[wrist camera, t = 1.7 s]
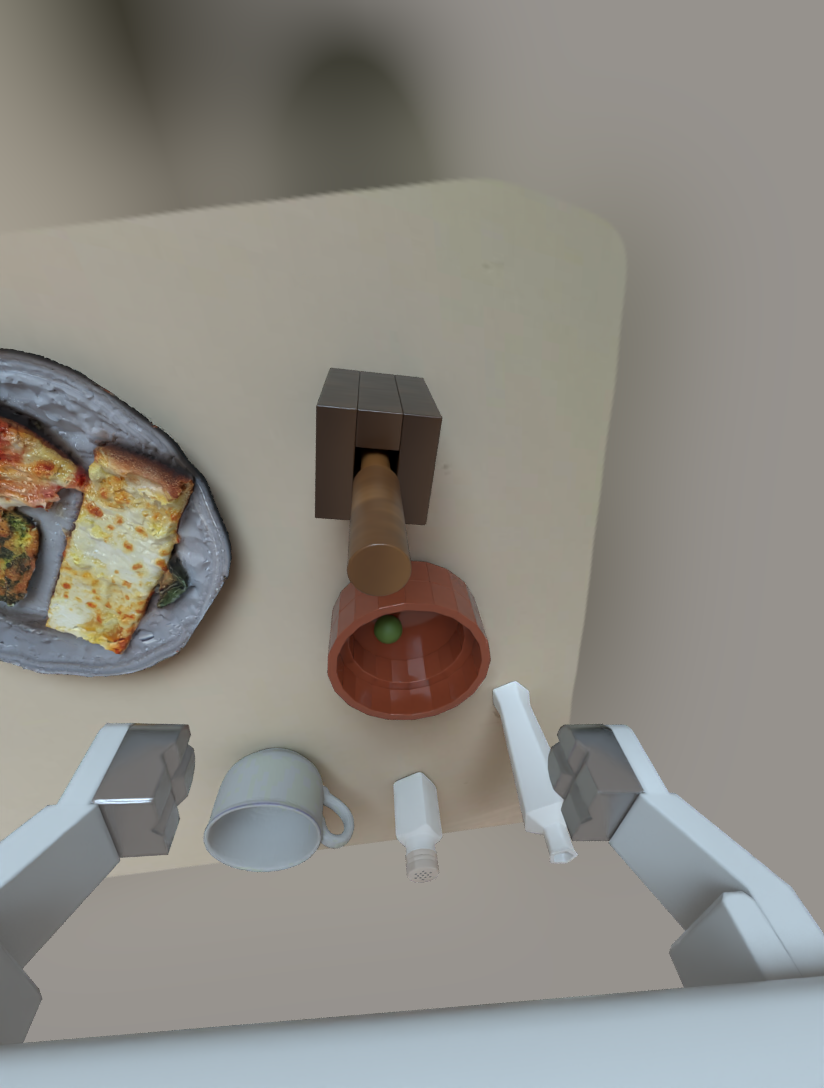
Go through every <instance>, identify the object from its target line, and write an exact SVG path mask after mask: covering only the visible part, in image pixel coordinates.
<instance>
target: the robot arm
mask: <svg viewBox="0 0 824 1088" xmlns="http://www.w3.org/2000/svg"><path fill="white" fill-rule="evenodd" d="M190 736H191V733H190V729H189V725H186V724H141V723H107V724H106V725H105V726H104V727H103V728H102V729H101V730H100V731H99V732H98V733H97V735H96V737H95V739H94V740H93V742H92V744H91V746H90V747H89V749H88V751H87V753H86V754H85V756H84V758H83V760H82V761H81V763H80V765H79V766H78V768H77V770H76V772H75V773H74V775H73V777H72V779H71V780H70V782H69V784H68V786H67V787H66V789H65V791H64V793H63V794H62V796H61V798H60V799H59V801H58V803H57V805H47V806H46V807H45V808H43V809H42V810H41V811H40V812H38V813H37V814H36V815H34V816H33V817H32V818H30V819H29V820H28V821H27V822H25V823H24V824H23V825H21V826H20V827H19V828H18V829H16V830H15V831H14V832H12V833H11V834H10V835H8V836H7V837H6V838H5V839H3V840H2V841H1V842H0V1088H824V934H823V933H822V931H821V929H820V928H819V926H818V925H817V923H816V922H815V920H814V919H813V918H812V916H811V915H810V913H809V912H808V910H807V909H806V908H805V906H804V904H803V903H802V902H801V900H800V899H799V897H798V896H797V894H796V893H795V891H794V890H793V888H792V887H791V886H789V885H788V884H787V883H786V882H785V881H783V880H782V879H781V878H780V877H779V876H777V875H776V874H775V873H774V872H772V871H771V870H770V869H769V868H767V867H766V866H765V865H764V864H762V863H761V862H760V861H759V860H758V859H756V858H755V857H754V856H752V855H751V854H750V853H749V852H748V851H746V850H745V849H744V848H743V847H741V846H740V845H739V844H738V843H736V842H735V841H734V840H733V839H732V838H730V837H729V836H728V835H727V834H725V833H724V832H723V831H722V830H720V829H719V828H718V827H717V826H715V825H714V824H713V823H712V822H710V821H709V820H708V819H707V818H706V817H704V816H703V815H702V814H701V813H699V812H698V811H697V810H696V809H694V808H693V807H692V806H691V805H689V804H688V803H687V802H686V801H684V800H683V799H682V798H681V797H680V796H678V795H677V794H676V793H669V792H668V790H667V789H666V787H665V785H664V784H663V782H662V780H661V778H660V777H659V775H658V774H657V772H656V770H655V768H654V766H653V765H652V763H651V761H650V760H649V758H648V756H647V754H646V753H645V751H644V749H643V748H642V746H641V744H640V742H639V741H638V739H637V737H636V736H635V734H634V732H633V731H632V729H631V728H630V727H628V726H627V725H603V724H574V725H563V726H562V727H560V729H559V731H558V733H557V736H558V739H559V742H558V743H556V744H555V745H554V746H552V747H551V750H550V752H549V755H548V772H549V778H550V781H551V784H552V787H553V790H554V791H555V792H556V793H557V794H558V795H559V796H560V797H561V798H562V799H564V800H563V804H562V807H561V812H562V815H563V817H564V820H565V823H566V826H567V828H568V831H569V833H570V836H571V839H572V841H609V844H610V845H611V847H612V848H613V849H614V850H615V851H616V852H617V853H618V855H619V856H620V857H621V858H622V859H623V860H624V861H625V862H626V864H627V865H628V866H629V867H630V868H631V869H632V870H633V872H634V873H635V874H636V875H637V876H638V877H639V879H640V880H641V881H642V882H643V883H644V884H645V885H646V886H647V888H648V889H649V890H650V891H651V892H652V893H653V894H654V896H655V897H656V898H657V899H658V900H659V901H660V902H661V904H662V905H663V906H664V907H665V908H666V909H667V910H668V912H669V913H670V914H671V915H672V916H673V917H674V918H675V920H676V921H677V922H678V923H679V924H680V925H681V926H682V928H683V929H684V930H685V932H684V933H683V934H682V935H681V936H680V937H679V938H678V939H677V940H676V941H675V942H674V943H673V944H672V945H671V949H670V951H669V954H670V956H671V959H672V961H673V963H674V965H675V968H676V970H677V972H678V975H679V977H680V979H681V982H682V984H683V986H684V988H675V989H664V990H663V989H662V990H651V991H638V992H627V993H614V994H603V995H591V996H579V997H567V998H555V999H543V1000H531V1001H519V1002H507V1003H495V1004H483V1005H471V1006H459V1007H447V1008H436V1009H423V1010H412V1011H399V1012H388V1013H375V1014H363V1015H351V1016H339V1017H327V1018H317V1019H304V1020H291V1021H280V1022H269V1023H255V1024H243V1025H232V1026H220V1027H208V1028H197V1029H184V1030H172V1031H160V1032H148V1033H137V1034H124V1035H112V1036H100V1037H89V1038H76V1039H64V1040H52V1041H40V1042H28V1043H23V1042H24V1040H25V1037H26V1035H27V1033H28V1030H29V1028H30V1025H31V1023H32V1021H33V1018H34V1016H35V1014H36V1012H37V1009H38V1007H39V1005H40V1002H41V1000H42V996H41V993H40V990H39V988H38V987H37V986H36V985H35V983H34V982H33V981H32V980H31V979H30V977H29V976H28V975H27V974H26V973H25V972H24V970H23V968H24V966H25V965H26V964H27V963H28V962H29V961H30V960H31V959H32V958H33V956H34V955H35V954H36V953H37V952H38V951H39V950H40V949H41V948H42V947H43V945H44V944H45V943H46V942H47V941H48V940H49V939H50V938H51V936H52V935H53V934H54V933H55V932H56V931H57V930H58V929H59V928H60V927H61V926H62V925H63V923H64V922H65V921H66V920H67V919H68V918H69V916H71V915H72V913H73V912H74V911H75V910H76V909H77V908H78V907H79V906H80V905H81V904H82V902H83V901H84V900H85V899H86V898H87V897H88V896H89V895H90V894H91V892H92V891H93V890H94V889H95V888H96V887H97V886H98V885H99V884H100V883H101V881H102V880H103V879H104V878H105V877H106V876H107V875H108V874H109V873H110V872H111V870H112V869H113V868H114V867H115V866H116V865H117V864H118V863H119V862H120V858H122V857H138V856H155V855H168V853H169V850H170V847H171V844H172V841H173V838H174V835H175V832H176V829H177V826H178V823H179V820H180V817H179V813H178V808H177V806H178V805H179V804H180V803H181V802H182V801H183V800H184V799H185V798H186V797H187V796H188V793H189V790H190V787H191V784H192V780H193V774H194V769H195V753H194V748H192V747H191V746H190V745H188V742H189V739H190Z"/></svg>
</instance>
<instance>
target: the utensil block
mask: <svg viewBox="0 0 824 1088" xmlns="http://www.w3.org/2000/svg"><path fill="white" fill-rule="evenodd" d="M441 423H442V416H441V414H440V412H439V410H438V408H437V406H436V404H435V402H434V400H433V398H432V396H431V393H430V391H429V389H428V387H427V385H426V383H425V381H424V379H423V378H419V377H410V376H400V375H395V376H394V375H391V374H382V373H373V372H364V371H361V372H360V371H355V370H346V369H336V368H330V370H329V372H328V375H327V378H326V381H325V384H324V386H323V389H322V392H321V395H320V397H319V400H318V403H317V406H316V476H315V518H325V519H340V520H350V518H351V503H352V488H353V481H354V478H355V476H356V475H357V474H358V472H359V471H361V449H362V448H372V449H384V450H388V452H389V461H390V470H392V471H393V472H394V473H395V474H396V476H397V478H398V480H399V484H400V491H401V498H402V504H403V511H404V518H405V524H416V525H426V520H427V514H428V507H429V501H430V495H431V488H432V482H433V475H434V469H435V462H436V456H437V449H438V443H439V436H440V430H441Z"/></svg>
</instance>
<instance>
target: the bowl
mask: <svg viewBox="0 0 824 1088" xmlns="http://www.w3.org/2000/svg"><path fill="white" fill-rule="evenodd" d="M411 568H412V569H411V575H410V578H409V580H408V582H407V583H406V584H405V586H404V587H403V588H401V589H400V590H399V591H397V592H395V593H393V594H390V595H386V596H371V595H367V594H365V593H362V592H361V591H359V590H358V589H356V588H355V587H354V586H353V584H352V583H351V582H350V583H349V584H348V585H347V586H346V587H345V588H344V589H343V590H342V592H341V593H340V595H339V597H338V599H337V601H336V603H335V605H334V608H333V611H332V621H331V631H330V641H329V651H328V670H327V673H328V677H329V679H330V681H331V684H332V686H333V688H334V691H335V692H336V693H337V694H338V695H339V696H340V697H341V698H342V699H343V700H344V701H345V702H346V703H347V704H348V705H349V706H351V707H353V708H355V709H357V710H359V711H361V712H363V713H365V714H367V715H370V716H374V717H378V718H383V719H387V720H416V719H421V718H426V717H431V716H435V715H438V714H440V713H443V712H445V711H447V710H450V709H452V708H454V707H456V706H458V705H459V704H461V703H462V702H463V701H465V700H466V699H467V698H468V697H470V696H471V695H472V694H473V693H475V691H476V690H477V689H478V687H479V686H480V685H481V683H482V682H483V680H484V679H485V678H486V675H487V671H488V668H489V664H490V661H491V660H490V659H491V658H490V651H489V644H488V640H487V637H486V633H485V630H484V627H483V624H482V621H481V618H480V615H479V611H478V608H477V605H476V602H475V599H474V597H473V595H472V593H471V592H470V590H469V589H468V587H467V585H466V584H465V582H464V581H462V580H461V579H460V578H458V577H457V576H456V575H454V574H453V573H452V572H450V571H449V570H447V569H445V568H442V567H439V566H437V565H434V564H431V563H428V562H421V561H411ZM384 615H393V616H395V617H397V618H398V619H399V620H400V622H401V624H402V628H403V630H402V635H401V637H400V638H399V639H398V640H397V641H396V642H394V643H391V644H385V643H382V642H380V641H379V640H378V639H377V638H376V636H375V634H374V625H375V623H376V621H377V620H378V619H379V618H380V617H382V616H384Z"/></svg>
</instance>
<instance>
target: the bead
mask: <svg viewBox="0 0 824 1088" xmlns="http://www.w3.org/2000/svg"><path fill="white" fill-rule="evenodd" d="M402 630H403V628H402V624H401V622H400V620H399V619H398V618H397V617H395V616H393V615H384V616H382V617H380V618H379V619H378V620H377V621H376V623H375V625H374V634H375V636H376V638H377V639H378V640H379V641H380V642H382V643H385V644H391V643H394V642H396V641H397V640H398V639H399V638H400V637H401V635H402Z"/></svg>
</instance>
